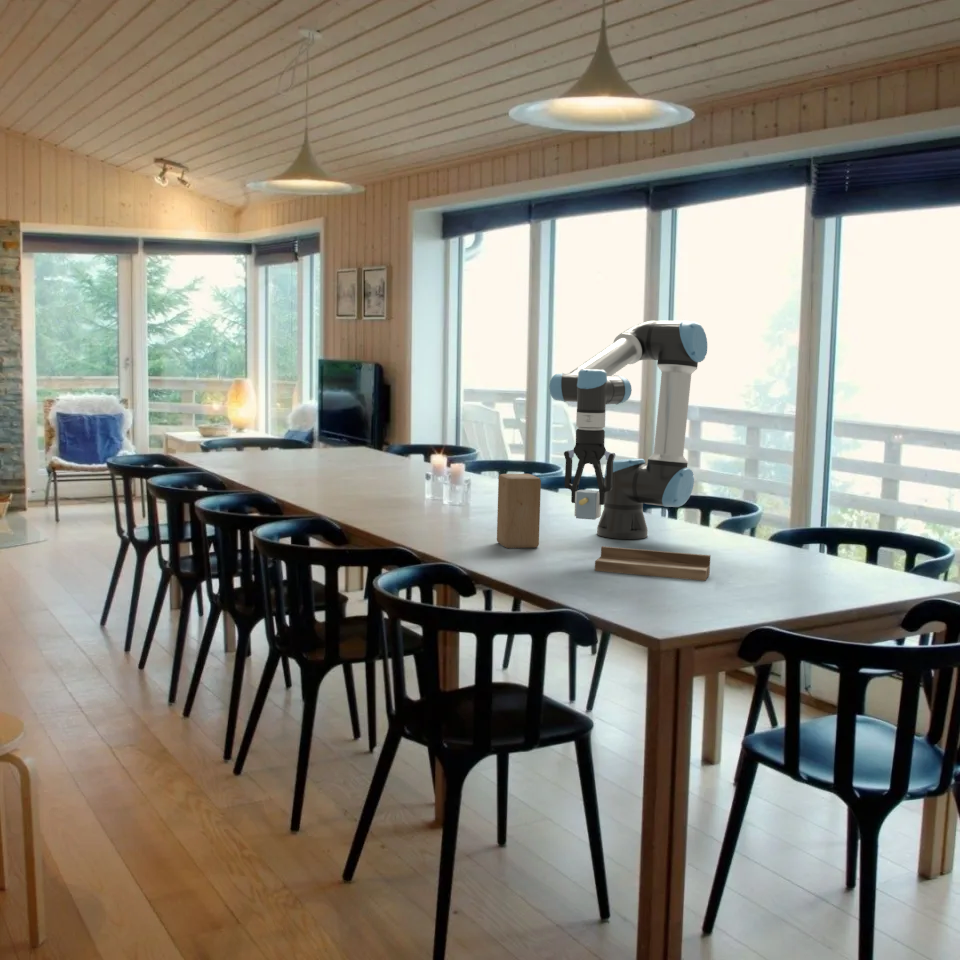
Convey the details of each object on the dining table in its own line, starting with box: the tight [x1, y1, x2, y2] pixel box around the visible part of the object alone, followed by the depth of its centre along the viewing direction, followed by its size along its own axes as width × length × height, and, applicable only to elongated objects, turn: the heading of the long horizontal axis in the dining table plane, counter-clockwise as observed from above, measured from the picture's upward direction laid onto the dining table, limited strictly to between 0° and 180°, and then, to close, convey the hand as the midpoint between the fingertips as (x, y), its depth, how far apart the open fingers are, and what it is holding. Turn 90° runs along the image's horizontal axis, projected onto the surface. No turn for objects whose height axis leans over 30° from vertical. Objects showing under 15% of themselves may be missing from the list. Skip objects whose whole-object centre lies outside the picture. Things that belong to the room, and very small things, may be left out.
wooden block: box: [496, 473, 542, 549], centre depth 323 cm, size 10×10×20 cm
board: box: [594, 545, 711, 582], centre depth 291 cm, size 8×28×5 cm, turn 72°
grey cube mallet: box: [575, 489, 599, 521], centre depth 299 cm, size 10×5×7 cm, turn 162°
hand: (587, 515), depth 302 cm, fingers closed on grey cube mallet, 5 cm apart
